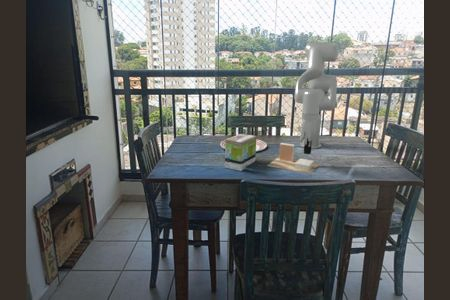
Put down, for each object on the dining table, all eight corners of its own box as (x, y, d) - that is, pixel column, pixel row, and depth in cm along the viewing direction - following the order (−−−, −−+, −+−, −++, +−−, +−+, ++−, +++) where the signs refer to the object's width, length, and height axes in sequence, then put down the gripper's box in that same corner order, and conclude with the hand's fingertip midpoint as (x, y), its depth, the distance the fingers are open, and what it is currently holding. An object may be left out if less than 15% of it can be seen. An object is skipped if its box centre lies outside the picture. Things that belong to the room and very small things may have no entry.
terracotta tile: (280, 158, 170) (281, 142, 168) (293, 160, 167) (294, 144, 164) (279, 159, 168) (279, 144, 166) (292, 161, 165) (293, 145, 162)
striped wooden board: (278, 159, 173) (278, 156, 173) (319, 165, 163) (319, 163, 162) (266, 167, 160) (266, 165, 159) (310, 176, 149) (310, 173, 149)
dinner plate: (275, 152, 184) (275, 147, 183) (231, 158, 175) (231, 152, 174) (253, 141, 209) (253, 136, 208) (214, 145, 199) (213, 140, 198)
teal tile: (300, 158, 162) (294, 163, 155) (313, 160, 159) (309, 165, 152) (299, 163, 163) (294, 168, 156) (313, 165, 160) (308, 170, 153)
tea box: (241, 171, 155) (242, 142, 151) (224, 167, 160) (224, 139, 156) (256, 163, 167) (256, 135, 163) (239, 159, 172) (239, 132, 168)
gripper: (306, 113, 162) (304, 148, 167) (297, 118, 150) (295, 156, 155) (321, 115, 158) (318, 150, 164) (313, 120, 146) (310, 158, 151)
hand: (307, 153), depth 159 cm, fingers closed
